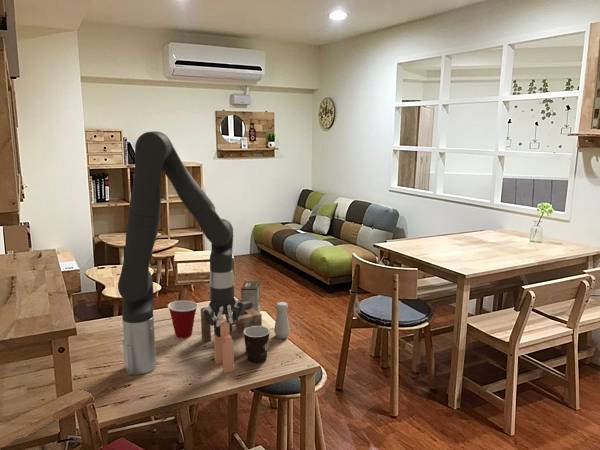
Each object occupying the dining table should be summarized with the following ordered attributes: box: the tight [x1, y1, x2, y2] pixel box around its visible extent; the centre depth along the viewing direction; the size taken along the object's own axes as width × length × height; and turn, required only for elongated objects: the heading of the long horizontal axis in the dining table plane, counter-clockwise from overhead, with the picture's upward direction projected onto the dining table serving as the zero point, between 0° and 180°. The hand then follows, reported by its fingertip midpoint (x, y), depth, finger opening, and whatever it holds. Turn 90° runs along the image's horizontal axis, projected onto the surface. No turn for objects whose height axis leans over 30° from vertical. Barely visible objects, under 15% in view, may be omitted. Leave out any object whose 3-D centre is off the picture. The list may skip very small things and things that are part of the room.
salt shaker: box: [273, 301, 291, 340], centre depth 181 cm, size 6×6×13 cm
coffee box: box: [240, 280, 261, 329], centre depth 192 cm, size 9×6×16 cm
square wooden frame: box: [200, 299, 263, 343], centre depth 176 cm, size 16×16×14 cm
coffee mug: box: [243, 325, 271, 365], centre depth 163 cm, size 12×9×10 cm
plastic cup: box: [167, 300, 199, 339], centre depth 182 cm, size 11×11×12 cm
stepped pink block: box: [213, 320, 235, 373], centre depth 159 cm, size 3×8×15 cm, turn 32°
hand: (223, 334), depth 158 cm, fingers closed on stepped pink block, 3 cm apart
